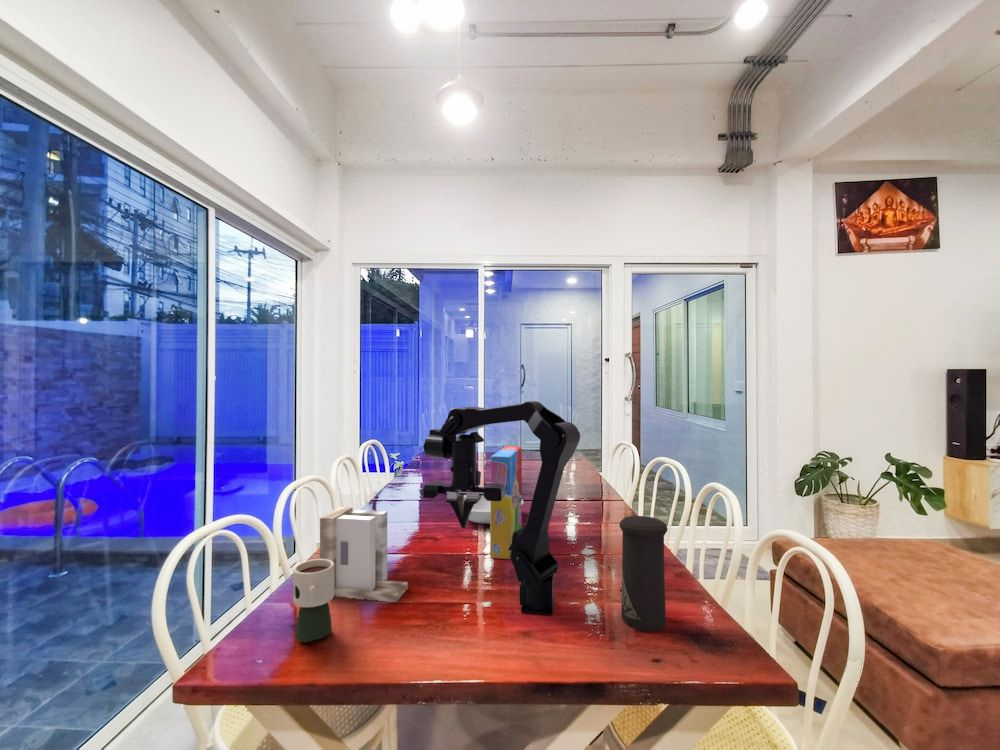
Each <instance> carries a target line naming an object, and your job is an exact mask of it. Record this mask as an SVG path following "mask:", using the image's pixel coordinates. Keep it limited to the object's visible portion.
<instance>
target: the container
mask: <svg viewBox="0 0 1000 750" xmlns="http://www.w3.org/2000/svg"><path fill="white" fill-rule="evenodd" d="M619 528H620V530H621V531H622V541H621V542H622V543H621V544H622V547H621V548H622V551H621V552H622V555H621V556H622V557H621V559H622V561H621V565H622V566H621V609H620V610H621V611H620V612H621V619H622V621H623V622H624V623H625V624H626V625H627V626H629V627H631V628H633V629H635V630H637V631H642V632H658V631H661V630H663V629H664V628H665V627H666V624H667V615H666V613H667V612H666V584H665V583H666V581H665V580H666V579H665V575H666V574H665V535H666V534H667V533H668V526H667V524H666V523H665V522H664V521H663V520H661V519H658V518H655V517H651V516H646V515H645V516H644V515H630V516H626V517H624V518H622V519H621V520H620V522H619Z"/></svg>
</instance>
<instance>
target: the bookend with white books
mask: <svg viewBox="0 0 1000 750" xmlns="http://www.w3.org/2000/svg"><path fill="white" fill-rule="evenodd" d="M342 515H356V516H375V588H374V589H373V590H360V589H348V588H336V518H338V517H340V516H342ZM319 559H329V560H331V561H333V562H334V596H336V597H335V598H341V597H347V598H346V599H352V598H356V599H355V600H364V599H367V600H366V601H375V600H377V602H378V601H379V602H388V603H389V602H390V603H397V602H398V601H399V600H400V599H401V597H402V596H403V595H404V594H405V593H406V591H408V586H409V585H408V584H409V583H408V581H396V580H388V511H387V510H373V509H372V510H370V509H354V510H353V507H347V506H340V507H338V508H336V509H335V510H332V511H331V512H328V513H327V514H325V515H324V516H323V515H322V516H321V517H320V518H319Z"/></svg>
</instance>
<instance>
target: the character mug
mask: <svg viewBox="0 0 1000 750" xmlns="http://www.w3.org/2000/svg"><path fill="white" fill-rule="evenodd" d="M334 598H335V597H334V562H333V561H331V560H329V559H320V558H314V559H308V560H305V561H303V562H300V563H298V564H297V565H295V566H293V569H292V601H293V604H294V605H296V606H297V607H299V609H298V615H297V621H296V622H297V623H296V629H295V639H296V640H297V641H298V642H301V643H308V642H312V641H313V642H314V641H317V640H319V639H323V638H325V637H327V636H329V635H330V634H331V633H332V629H333V628H332V617H331V611H330V605H329V603H330V602H331V601H332V600H333V599H334Z"/></svg>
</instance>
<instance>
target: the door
mask: <svg viewBox="0 0 1000 750" xmlns="http://www.w3.org/2000/svg"><path fill="white" fill-rule="evenodd" d="M336 588H348V589H360V590H373V589H374V588H375V516H356V515H342V516H340V517H338V518H336Z"/></svg>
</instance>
